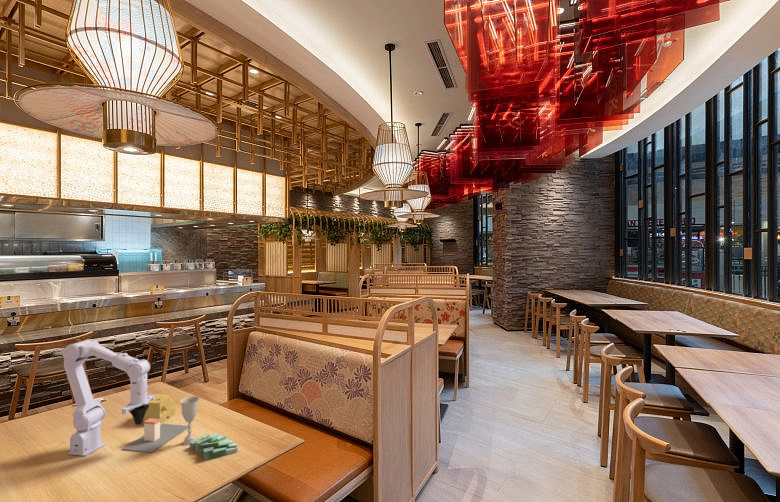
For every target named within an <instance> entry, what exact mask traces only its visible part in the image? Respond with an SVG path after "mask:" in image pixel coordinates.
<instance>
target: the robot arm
mask: <svg viewBox="0 0 780 502" xmlns="http://www.w3.org/2000/svg"><path fill="white" fill-rule="evenodd" d="M61 355H62V357H63V367H64V370H65V374H66V378H67V381H68V383H69V386H70V390H71V392H72V396H73V398H74V402H75V405H76V408H75V409H74V411H73V412H72V417H73V419H72V425H73V427H74V429H76V431H75V432H74V433H73V434H71V436H70V437H69V452H68V453H67V454H68V455H72V456H73V455H74V456H83V457H86V456H88V455H89V454H91V453H92V452H95V451H96V450H98V449H100V448H102V447H103V446H105V445H106V444H107V442H104V441H102V439H101V438H102V437H101V435H102V432H101V430H102V425H101V424H102V423H103V421H102V420H104V418H105V417H106V410H105V408H104V407H103V406H102V405H101V402H100V401H98V400H95V399H94V396H93V394H92V390H91V387H90V385H89V384H90V383H89V381H88V378H87V374H86V372H85V368H84V366H83V365H84V363H85V361H86V360H87V359H88V358H89V357H93V356H94V357H96V358H100V359H102V360H105V361H107V362H110V363H111V365H112V367H115V368H116V369H118V370H121V371H122V372H123V371H124V372H125V373H126V374H127V377H129V381H130V394H129V395H130V399H129V401H130V402H129V403H128V404H126V406H125V407H123V408H121V414H122V415H127V414H128V413H129V414H130V415H131V416H132V418H133V421H134V424H135V425H137V426H140V425H142V424H144V423H143V419H144V416H145V413H146V411H147V409H148V408H149V404H148V403H149V401H151V400H154V399H155V394H149V395H148V372H149V371H150V370H151V363H150V362H149V361H148V360H147V359H144V358H143V359H138V358H135V357H132V356H131V355H129V354H128V353H127V352H125V353H123V352H122V353H116V352H114V351H113V350H110V349H108V348H107V347H105V346H103V345H101V344H100V343H99V341H96V340H94V339H92V338H87V339H85V340H82V341H78V342H74V343H71V344H68V345H66V346H65V348H64V349H63V350H62V352H61Z"/></svg>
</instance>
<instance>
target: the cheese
mask: <svg viewBox="0 0 780 502" xmlns="http://www.w3.org/2000/svg"><path fill="white" fill-rule="evenodd" d="M154 395H155V399H154V400H151V401H149V403H148V404H149V408H148V409H147V411H146V413H145V416H144V419H143V423H142V424H144V421H146V420H148V419H150V418H152V419H160V424H161V423H162V422H164V421H166V419H167V418H171V417H172V416H174V415H175V413H176V409H175V407H174V404H175V399H174V398H171V396H170V395H169V394H162V393H155V394H154Z"/></svg>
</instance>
